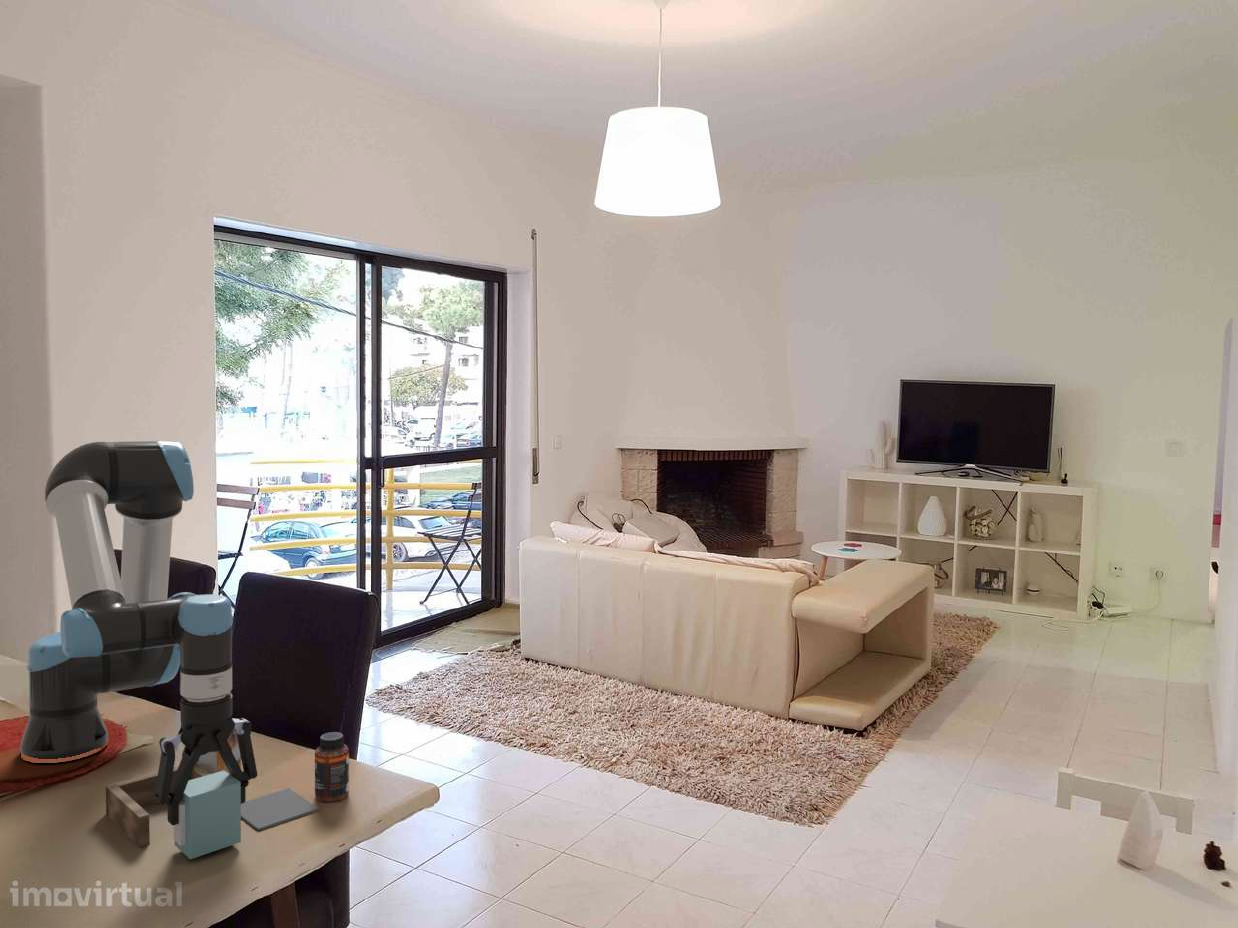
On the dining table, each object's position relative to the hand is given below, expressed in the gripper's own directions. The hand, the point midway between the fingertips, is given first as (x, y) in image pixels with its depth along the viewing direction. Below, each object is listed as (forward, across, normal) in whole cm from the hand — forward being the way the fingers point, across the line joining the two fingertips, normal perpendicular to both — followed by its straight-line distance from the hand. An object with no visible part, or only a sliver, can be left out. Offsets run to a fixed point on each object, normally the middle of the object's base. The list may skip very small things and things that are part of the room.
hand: (207, 832), depth 149 cm
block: (+2, 0, 0) cm, 2 cm away
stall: (+3, 0, +16) cm, 16 cm away
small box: (+3, +12, +25) cm, 28 cm away
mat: (+3, +14, +6) cm, 15 cm away
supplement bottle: (+3, +24, +4) cm, 24 cm away
